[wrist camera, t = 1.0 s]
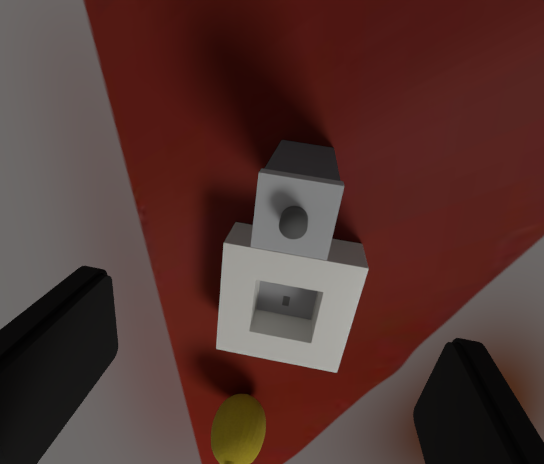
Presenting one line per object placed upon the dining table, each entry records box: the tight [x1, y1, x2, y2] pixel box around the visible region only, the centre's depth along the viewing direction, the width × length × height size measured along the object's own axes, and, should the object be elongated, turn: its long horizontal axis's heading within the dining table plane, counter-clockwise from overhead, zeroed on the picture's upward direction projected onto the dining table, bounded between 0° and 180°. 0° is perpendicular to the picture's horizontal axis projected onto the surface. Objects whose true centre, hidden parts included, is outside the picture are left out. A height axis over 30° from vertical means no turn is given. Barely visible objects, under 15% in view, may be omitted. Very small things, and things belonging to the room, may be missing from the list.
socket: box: [216, 222, 369, 373], centre depth 29 cm, size 11×11×4 cm
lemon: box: [211, 394, 266, 464], centre depth 34 cm, size 6×6×8 cm
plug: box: [250, 140, 344, 260], centre depth 21 cm, size 4×4×11 cm
